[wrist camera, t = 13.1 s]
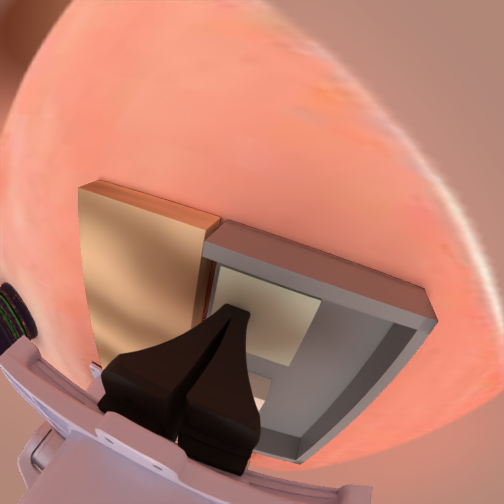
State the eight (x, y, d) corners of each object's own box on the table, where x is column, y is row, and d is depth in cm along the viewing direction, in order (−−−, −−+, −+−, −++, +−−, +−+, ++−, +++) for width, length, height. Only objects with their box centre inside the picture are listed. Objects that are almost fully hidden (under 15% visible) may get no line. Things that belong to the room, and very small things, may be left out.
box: (305, 439, 22) (300, 464, 20) (193, 401, 24) (181, 425, 21) (424, 288, 13) (438, 321, 11) (227, 219, 15) (204, 241, 12)
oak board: (189, 400, 24) (181, 415, 22) (113, 361, 25) (103, 373, 23) (220, 217, 15) (205, 230, 13) (99, 179, 16) (78, 187, 14)
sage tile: (293, 343, 17) (288, 366, 15) (219, 316, 17) (206, 336, 16) (323, 279, 14) (321, 300, 13) (234, 248, 15) (220, 265, 13)
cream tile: (254, 410, 21) (248, 428, 19) (200, 389, 22) (191, 406, 20) (271, 379, 19) (265, 400, 17) (207, 355, 19) (196, 374, 18)
